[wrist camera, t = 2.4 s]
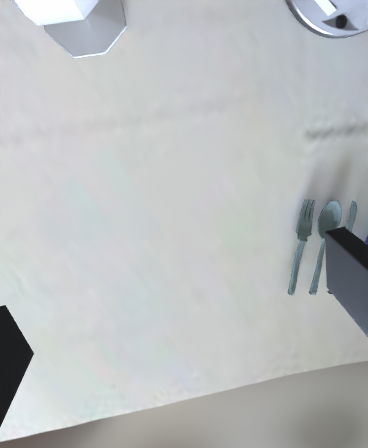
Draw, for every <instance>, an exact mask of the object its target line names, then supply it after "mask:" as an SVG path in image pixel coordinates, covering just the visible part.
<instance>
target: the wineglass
mask: <svg viewBox="0 0 368 448" xmlns="http://www.w3.org/2000/svg"><path fill="white" fill-rule="evenodd" d="M10 1H11V2H12V3H13V4H14V5H15V6H16V7H17V8H18V9H19V10H21V11H22V12H23V13H24V14H25V15H26V16H27V17H28V18H30V19H31V20H32V21H33V22H34V23H36V24H37V25H38V26H39V25H44V28H45V32H46V33H47V34H48V35H49V36H50V37H51V38H52V39H53V40H54V41H55V42H57V43H58V44H59V45H60V46H61V47H62V48H63V49H64V50H65V51H66V52H67V53H68V54H69V55H70V56H71V57H72V58H73V59H74V58H81V57H87V56H94V55H101V54H106V53H107V52H108V50H109V49H110V48H111V47H112V45H113V44H114V43H115V42H116V40H117V39H118V38H119V37H120V35H121V34H122V33H123V32H124V30H125V29H126V28H127V26H126V20H125V15H124V10H123V4H122V0H10Z"/></svg>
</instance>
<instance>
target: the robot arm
mask: <svg viewBox="0 0 368 448" xmlns="http://www.w3.org/2000/svg"><path fill="white" fill-rule="evenodd" d="M286 3H287V5H288V7H289V8H290V10H291V12H292V13H293V15H294V16H295V17H296V19H297V20H298V21H299V22H300V23H301V24H302V25H303V26H304V27H306V28H307V29H308V30H310V31H312V32H313V33H315V34H318V35H320V36H323V37H328V38H346V37H350V36H353V35H357V34H359V33H362V32H365V31H367V30H368V0H286ZM325 243H326V274H327V288H328V289H329V290H330V291H331V293H332V294H333V295H334V296H335V298H336V299H337V300H338V301H339V302H340V304H341V305H342V306H343V307H344V309H345V310H346V311H347V312H348V313H349V315H350V316H351V317H352V318H353V319H354V321H355V322H356V323H357V324H358V326H359V327H360V328H361V329H362V330H363V332H364V333H365V334H366V335H367V337H368V245H367V244H366V243H364V242H363V241H362V240H361V239H359V238H358V237H357V236H355V235H354V234H353V233H352V232H350V231H349V230H348V229H346V228H345V227H341V228H337V229H333V230H328V231H325ZM33 354H34V353H33V351H32V349H31V348H30V346H29V344H28V343H27V341H26V339H25V337H24V336H23V334H22V332H21V331H20V329H19V327H18V326H17V324H16V322H15V321H14V319H13V317H12V315H11V314H10V312H9V310H8V309H7V307H6V305H4V306H0V426H1V424H2V422H3V420H4V418H5V416H6V413H7V411H8V409H9V407H10V405H11V402H12V400H13V398H14V396H15V394H16V392H17V389H18V387H19V385H20V383H21V381H22V378H23V376H24V374H25V372H26V370H27V368H28V365H29V363H30V361H31V359H32V357H33Z"/></svg>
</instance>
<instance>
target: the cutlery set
mask: <svg viewBox="0 0 368 448" xmlns="http://www.w3.org/2000/svg"><path fill="white" fill-rule="evenodd" d="M306 202H307V200H306V199H305V201H304V203H303V207H302V211H301V215H300V218H299V221H298V224H297V228H296V233H297V234H298V240H299V244H298V248H297V251H296V254H295V258H294V263H293V268H292V274H291V280H290V285H289V289H288V293H289V295H294V292H295V287H296V282H297V275H298V269H299V264H300V259H301V255H302V252H303V248H304V244H305V242H307V237H308V236H310V235H312V234H311V228H312V218H313V210H314V204H315V200H313V202H312V204H311V208H310V203H311V200H309V201H308V204H307V207H306ZM305 208H306V211H305ZM309 209H310V212H309ZM341 210H342V209H341V207H340V204H339V202H338V201H332V200H331V201H330V202H329V203H328V204H327V205H326V206H325V207H324V208H323V210H322V212H321V214H320V216H319V219H318V232H319V234H320V236H321V238H322V242H321V247H320V252H319V256H318V261H317V266H316V269H315V273H314V277H313V281H312V284H311V287H310V291H309V293H310V295H316V292H317V288H318V282H319V277H320V272H321V267H322V260H323V254H324V247H325V231H328V230H333V229H337V228H338V226H339V224H340V222H341ZM356 212H357V205H356V202H354V201H352V204H351V208H350V212H349V216H348V219H347V223H346V227H345V228H346V229H348V230H349V231H350V232H351V231H352V228H353V224H354V220H355V216H356ZM365 243H366V244H367V245H368V237H367V239H366V241H365ZM327 292H328V293H329V294H332V293H331V291H330V290H329V291H327Z"/></svg>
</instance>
